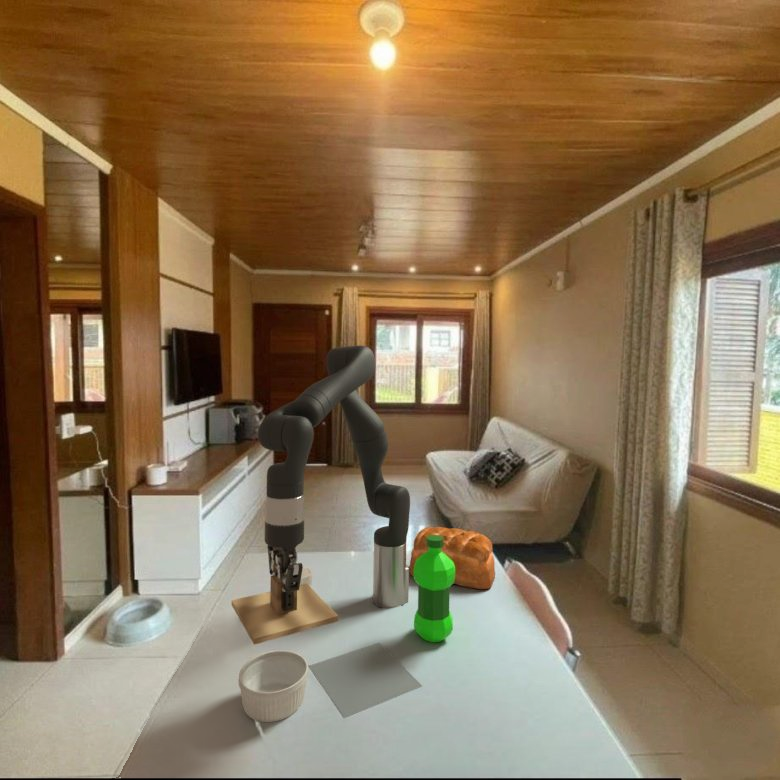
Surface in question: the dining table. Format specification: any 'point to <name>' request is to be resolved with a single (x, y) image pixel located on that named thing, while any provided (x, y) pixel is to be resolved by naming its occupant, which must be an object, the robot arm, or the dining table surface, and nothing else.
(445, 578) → the plastic bottle
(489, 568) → the bread
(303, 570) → the white cup
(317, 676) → the grey mat
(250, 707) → the ramekin
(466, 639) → the dining table surface
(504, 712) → the dining table surface
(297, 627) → the oak lid
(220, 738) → the dining table surface
